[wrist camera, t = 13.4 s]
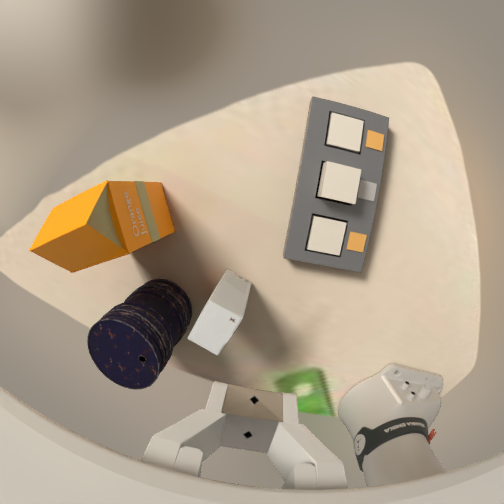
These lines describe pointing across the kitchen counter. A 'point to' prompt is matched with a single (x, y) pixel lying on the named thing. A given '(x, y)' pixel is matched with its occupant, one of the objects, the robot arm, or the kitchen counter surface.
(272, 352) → the kitchen counter surface
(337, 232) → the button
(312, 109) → the button panel
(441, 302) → the kitchen counter surface
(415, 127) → the kitchen counter surface
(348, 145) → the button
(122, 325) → the dark blue cylinder
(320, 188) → the middle button
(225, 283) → the skincare box
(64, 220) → the orange juice
